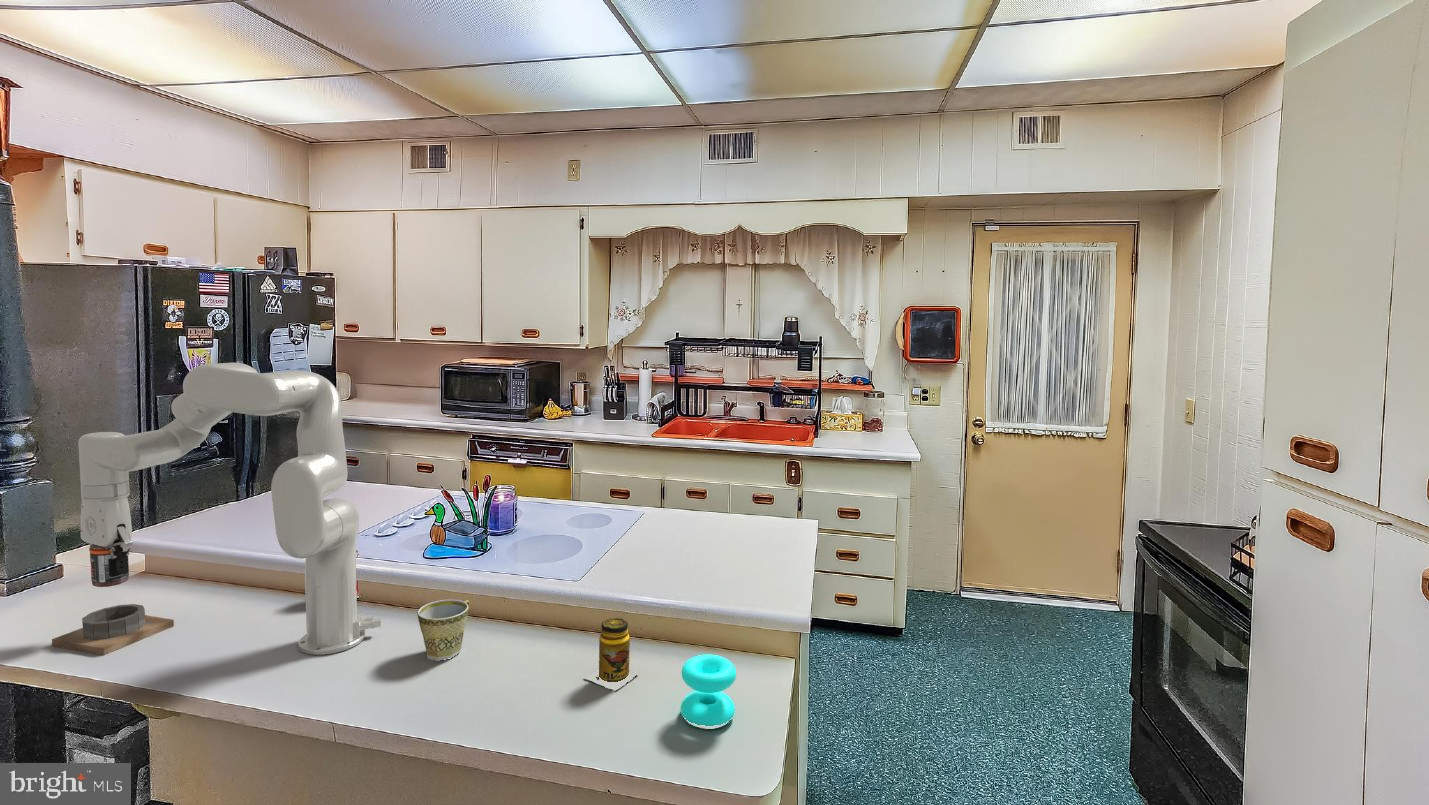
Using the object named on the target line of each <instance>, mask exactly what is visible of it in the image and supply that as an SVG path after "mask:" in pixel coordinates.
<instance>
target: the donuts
mask: <svg viewBox="0 0 1429 805" xmlns="http://www.w3.org/2000/svg"><path fill="white" fill-rule="evenodd" d="M681 677H682V680H683V682H684V684H685V685H687V686H688V687H689V688H690V689H692V690H694V691H691V692H690V693H689V694H687V695H686V696H685V697H684V698H683V700H682V701H681V704H680V714H682V715H681V717H682V716H684V718H686V720H688V721H689V722H691V723H695V724H697V725H705V726H714V725H721V724H723V723H726V722H727V721H730V719H731V718H732V717H733V716H735V714H736V708H735V704H734V701H733V700H732V699H731V697H730V696H729V695H727V694H726V693H724V692H723V691H726V690H727V689H728V688H731V686H732V685H733V684H734V683H735V681H736V678H737V669H736V667H735V664H734V663H733V662H732V661H730V660H729V659H727V658H726V657H723V656H721V655H717V654H699V655H695V656H693V657H690V658H689V659H688V660H686V661H685V662H684V664H683V666H682V668H681ZM734 713H735V714H734ZM733 718H734V717H733ZM730 722H731V721H730Z"/></svg>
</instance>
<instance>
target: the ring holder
mask: <svg viewBox="0 0 1429 805" xmlns="http://www.w3.org/2000/svg"><path fill="white" fill-rule="evenodd" d="M145 612H146V610H145V606H144V605H142V604H136V603H130V604H119V605H113V606H108V607H105V608H101V609H99V610H95V611H92V612H90V613H88V614H86V615H85V616H84V617H82V618H81V619H82V620H81V622H82V627H81V628H78V629H76V630H73V631H70V632H67V633H65V634H62V635H59V636H57V637H54V638H52V639H51V646H52V647H56V648H61V649H67V650H72V651H79V652H84V653H89V654H95V655H100V654H102V655H101V656H106V655H108V654H110V653H109V652H111V653H113V652H116V651H117V650H116V649H118V650H119V649H123V648H125V647H127V646H129V645H132V644H134V643H137V642H139V641H141V640H144V639H146V638H148V637H149V638H150V637H151V636H153V635H156V634H158V633H160V632H163V631H166V630H168V629H171V628H172V627H175V619H172V618H171V619H170V618H165V617H159V616H153V615H147V614H146V613H145ZM105 654H106V655H105Z"/></svg>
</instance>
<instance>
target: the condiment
mask: <svg viewBox="0 0 1429 805" xmlns="http://www.w3.org/2000/svg"><path fill="white" fill-rule="evenodd" d="M600 626H601V630H600V635H599V639H598V644H599V646H598V651H599V652H598V654H599V655H598V669H599V677H600V678H601V679H602V680H604V681H607V682H618V681H621V680H623V679H625V678H626V677H627V676H628V675H629V672H630V661H631V660H630V655H631V654H630V653H631V652H630V647H631V646H630V644H631V643H630V640H631V637H630V634H629V629H628V628H629V623H628V621H627V620H626V619H624V618H622V617H609V618H607V619H605V620H603V621H602V623H601V625H600Z"/></svg>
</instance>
